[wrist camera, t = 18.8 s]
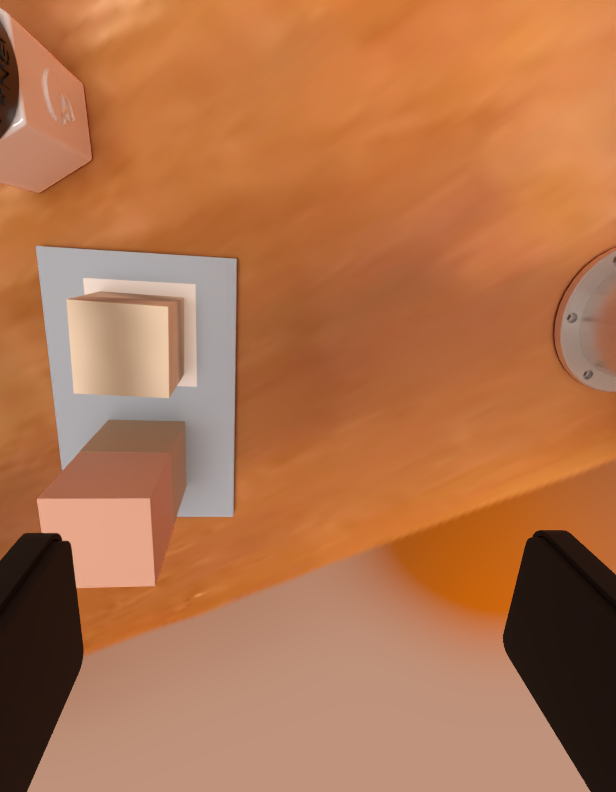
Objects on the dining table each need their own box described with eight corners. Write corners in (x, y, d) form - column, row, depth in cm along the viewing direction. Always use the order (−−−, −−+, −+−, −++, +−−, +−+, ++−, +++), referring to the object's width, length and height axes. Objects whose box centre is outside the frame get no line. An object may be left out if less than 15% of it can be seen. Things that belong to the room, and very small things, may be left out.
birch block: (184, 297, 33) (168, 306, 28) (184, 374, 35) (169, 398, 29) (100, 291, 33) (66, 299, 27) (104, 370, 34) (73, 393, 29)
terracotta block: (170, 452, 31) (150, 498, 25) (174, 527, 32) (155, 585, 27) (79, 452, 30) (36, 498, 24) (88, 528, 32) (49, 588, 26)
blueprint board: (237, 258, 34) (231, 260, 27) (233, 510, 40) (228, 561, 34) (42, 246, 32) (-15, 244, 26) (72, 510, 39) (33, 563, 32)
